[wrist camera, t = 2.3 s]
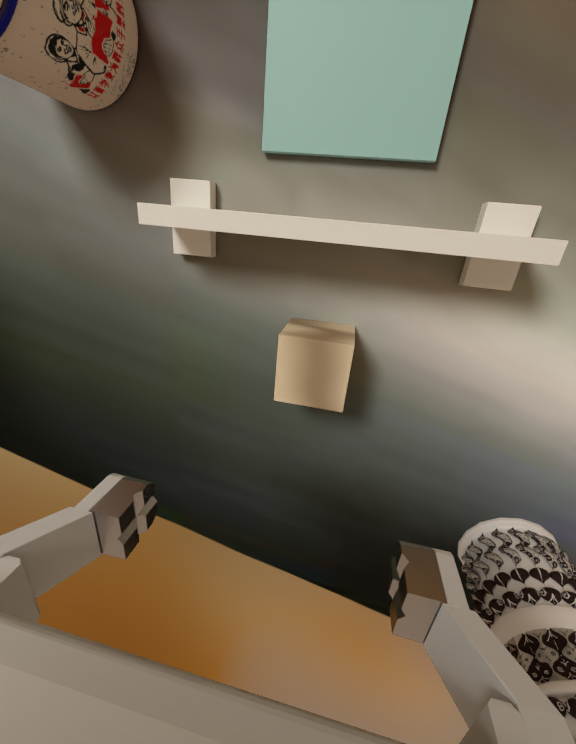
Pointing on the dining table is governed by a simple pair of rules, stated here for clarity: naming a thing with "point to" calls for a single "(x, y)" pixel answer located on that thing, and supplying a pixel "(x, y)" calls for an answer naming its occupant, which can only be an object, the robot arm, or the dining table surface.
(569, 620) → the decorative candle
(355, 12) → the pad
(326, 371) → the maple block
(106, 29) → the teacup with lid
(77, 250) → the dining table surface
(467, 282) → the divider wall
